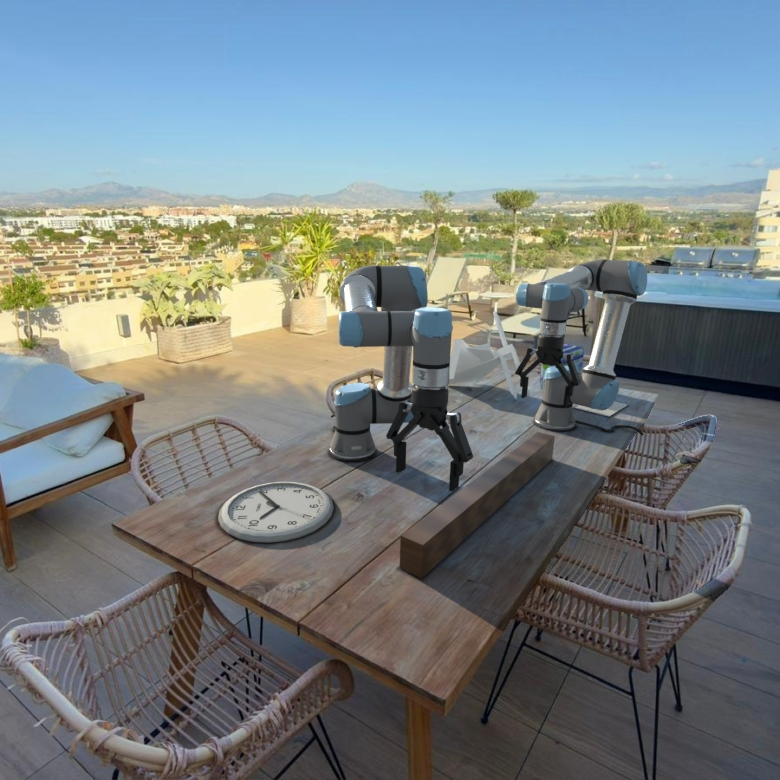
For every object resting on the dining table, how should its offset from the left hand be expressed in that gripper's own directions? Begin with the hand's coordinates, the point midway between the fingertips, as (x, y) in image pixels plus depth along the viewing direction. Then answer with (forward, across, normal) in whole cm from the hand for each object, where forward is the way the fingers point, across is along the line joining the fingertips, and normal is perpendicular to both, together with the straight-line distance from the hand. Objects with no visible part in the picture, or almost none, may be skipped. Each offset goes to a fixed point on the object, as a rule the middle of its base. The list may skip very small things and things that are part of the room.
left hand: (426, 479), depth 113 cm
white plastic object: (+21, -50, +124) cm, 136 cm away
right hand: (0, 0, +68) cm, 68 cm away
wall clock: (+21, -43, -5) cm, 48 cm away
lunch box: (+21, -23, +154) cm, 157 cm away
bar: (+21, 0, +34) cm, 40 cm away
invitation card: (+21, 0, +140) cm, 142 cm away
